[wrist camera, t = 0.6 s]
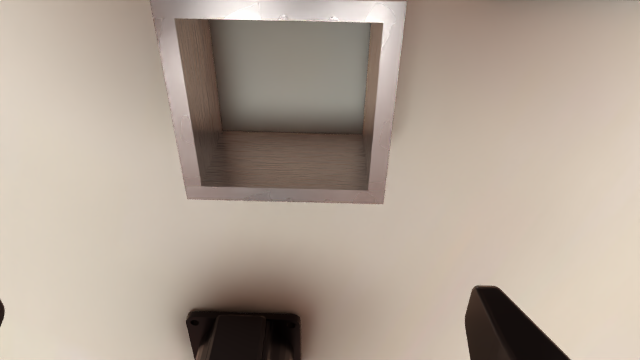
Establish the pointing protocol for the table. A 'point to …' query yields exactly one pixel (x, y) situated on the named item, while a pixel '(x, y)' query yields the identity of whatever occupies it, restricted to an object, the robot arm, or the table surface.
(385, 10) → the box
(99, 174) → the table surface
